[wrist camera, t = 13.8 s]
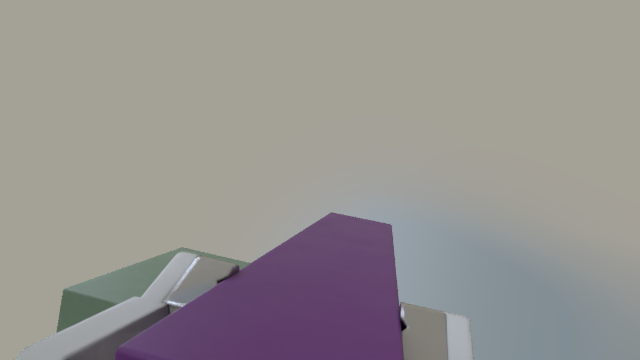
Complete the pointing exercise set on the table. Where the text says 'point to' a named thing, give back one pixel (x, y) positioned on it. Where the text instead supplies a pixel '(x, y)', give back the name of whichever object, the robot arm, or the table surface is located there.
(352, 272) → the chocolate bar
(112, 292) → the stand
